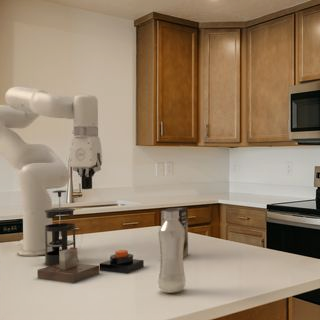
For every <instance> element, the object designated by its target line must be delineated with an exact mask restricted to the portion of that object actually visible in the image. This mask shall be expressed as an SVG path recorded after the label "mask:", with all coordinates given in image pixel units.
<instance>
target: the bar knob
mask: <svg viewBox="0 0 320 320" xmlns="http://www.w3.org/2000/svg"><path fill="white" fill-rule="evenodd" d="M61 250H62V249H61ZM78 259H79V257H78V248H77V247H76V246H75V247H73V246H71V247H69V248H68V249H66V250H62V251H59V261H60V269H63V270H66V269H69V268H72V267H75V266H78V263H79V262H78Z"/></svg>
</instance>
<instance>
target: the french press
mask: <svg viewBox="0 0 320 320" xmlns="http://www.w3.org/2000/svg"><path fill="white" fill-rule="evenodd" d="M53 193H54V194H55V193H56V194H57V198H58V207H55V208H52V209H49V210H45V212H46V218H52V219H54V218H55V217H57V216H59V217H58V218H59V220H58V222H59V223H52V224H50V225H46V226H45V255H44V257H45V259H44V260H45V262H44V265H45V267H49V266H52V265H56V264H59V263H60V261H59V251H62V250H66V249H69V248H68V247H70V246H72V247H75V248H76V224H75V223H72V222H64V223H63V222H61V221H62V219H61V217H62V216H70V217H74V211H76V209H75V208H69V207H61V197H62V193H67V191H66V190H63V189H62V190H53V191H52V194H53ZM47 231H48V232H52V242H48V243H47ZM69 231H72V240H70V239H69V240H68V232H69ZM47 246H48V247H52V251H50V252H47Z"/></svg>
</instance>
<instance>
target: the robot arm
mask: <svg viewBox="0 0 320 320" xmlns="http://www.w3.org/2000/svg"><path fill="white" fill-rule="evenodd" d="M4 95H5V96H4V99H5V102H6V103H7V104H0V153H1V154H2V156H3V157H4V158H5V159H6V161H7V162H8V163H9V164H10V165H11V166H12V168H14V169H15V170H18V172H19V173H18V181H19V185H20V186H19V187H20V191H21V198H22V232H23V233H22V239H21V240H20V241H17V243H16V245H17V246H19V247H21V248H20V249H19V250H18V255H20V256H24V257H33V256H36V257H37V256H45V226H46V225H50V224H53V218H46V212H45V210H49V209H53V200H52V197H51V195H50V194H49V192H48V190H52V189H60V188H63V187H65V186H67V184H68V183H69V181H70V179H71V176H70V170H69V169H68V168H69V167H67V165H66V164H65V162H63V160H62V159H61V158H60V157H59V156H58V155H57V153H56V152H55V151H54V150H53V149H52V148H51V147H49V146H48V145H45V144H40V143H39V144H38V143H27V142H25V140H24V139H22V138H23V137H21V136H20V135H19V134H18V133H17V132H16V131H14V130H12V129H19V130H20V129H26V128H28V127H29V126H31V124H33V123H34V121H36V119H38V118H39V117H40V116H43V117H47V118H54V119H67V120H73V130H72V134H73V137H71V140H70V146H69V166H70V167H71V168H72V170H73V171H74V172H76V173H78V175H79V177H80V178H81V180H80V181H81V190H92V189H93V177H94V176H95V174H96V172H97V173H98V172H100V171H102V168H101V167H102V163H103V152H102V144H101V140H100V139H101V138H100V137H99V113H98V112H99V105H98V103H99V101H98V98H97V97H96V96H95V95H92V94H76V95H75V96H69V95H62V94H55V93H48V92H47V91H45V90H43V89H39V88H34V87H26V86H13V87H10V88H9V89H7V91H6V92H5V94H4ZM48 242H52V232H48V231H47V243H48ZM50 251H52V247H48V246H47V252H50Z"/></svg>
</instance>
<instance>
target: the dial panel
mask: <svg viewBox="0 0 320 320" xmlns="http://www.w3.org/2000/svg"><path fill="white" fill-rule="evenodd" d="M36 273H37V279H38V280H44V281H51V282H52V281H53V282H59V283H60V282H61V283H69V284H76V283H79V282H81V281H85V280H87V279H90V278H92V277H96V276H98V275H100V267H99V264H88V263H79V262H78V266H75V267H72V268H69V269H66V270H63V269H60V263H59V264H56V265H52V266H45V267H43V268H39V269H37V272H36Z"/></svg>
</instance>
